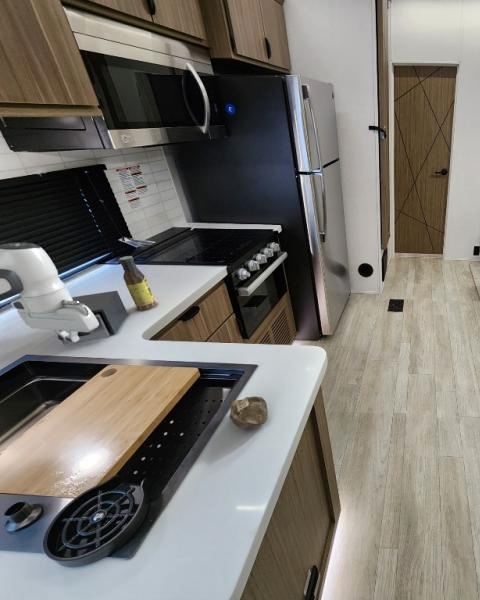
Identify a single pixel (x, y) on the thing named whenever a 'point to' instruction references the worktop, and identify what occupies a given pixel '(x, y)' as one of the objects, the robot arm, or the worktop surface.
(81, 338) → the drawer
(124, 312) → the gray drawer cabinet
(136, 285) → the sauce bottle
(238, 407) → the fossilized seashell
